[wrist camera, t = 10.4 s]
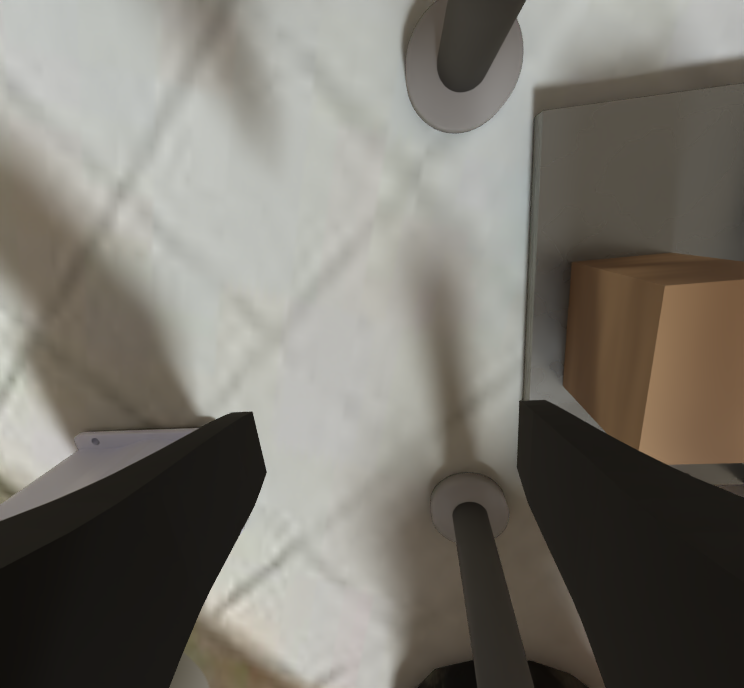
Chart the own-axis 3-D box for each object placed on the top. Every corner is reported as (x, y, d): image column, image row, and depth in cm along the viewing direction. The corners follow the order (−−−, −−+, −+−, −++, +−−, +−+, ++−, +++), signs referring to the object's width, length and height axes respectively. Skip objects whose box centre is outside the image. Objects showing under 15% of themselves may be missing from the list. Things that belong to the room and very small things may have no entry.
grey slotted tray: (520, 474, 20) (553, 550, 16) (534, 117, 15) (593, 69, 10) (753, 471, 19) (866, 553, 14) (870, 72, 13) (1124, -9, 9)
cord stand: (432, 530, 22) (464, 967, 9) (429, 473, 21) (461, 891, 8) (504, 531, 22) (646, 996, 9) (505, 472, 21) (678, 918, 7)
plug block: (562, 385, 17) (636, 465, 12) (571, 261, 16) (665, 285, 10) (651, 381, 17) (772, 462, 11) (672, 252, 15) (830, 272, 9)
